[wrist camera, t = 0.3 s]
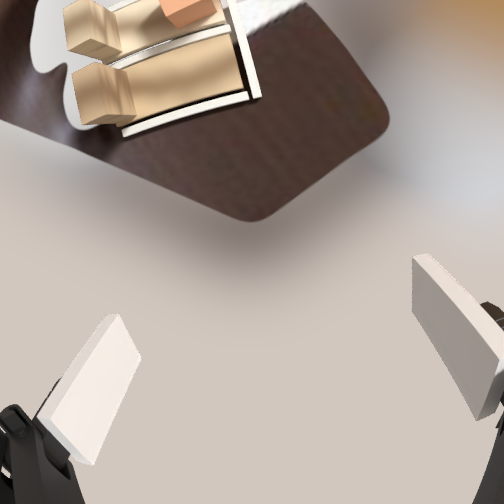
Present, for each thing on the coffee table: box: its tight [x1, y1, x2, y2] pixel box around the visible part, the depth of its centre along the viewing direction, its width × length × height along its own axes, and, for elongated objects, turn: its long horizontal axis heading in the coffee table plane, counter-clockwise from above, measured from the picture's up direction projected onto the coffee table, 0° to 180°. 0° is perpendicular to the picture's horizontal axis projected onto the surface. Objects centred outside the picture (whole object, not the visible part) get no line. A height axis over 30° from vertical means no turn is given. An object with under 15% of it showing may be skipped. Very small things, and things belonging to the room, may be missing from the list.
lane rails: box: [106, 0, 262, 137], centre depth 31 cm, size 19×18×1 cm
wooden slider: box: [63, 0, 226, 65], centre depth 26 cm, size 7×16×9 cm, turn 103°
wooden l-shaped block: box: [72, 34, 244, 127], centre depth 29 cm, size 7×16×9 cm, turn 103°
